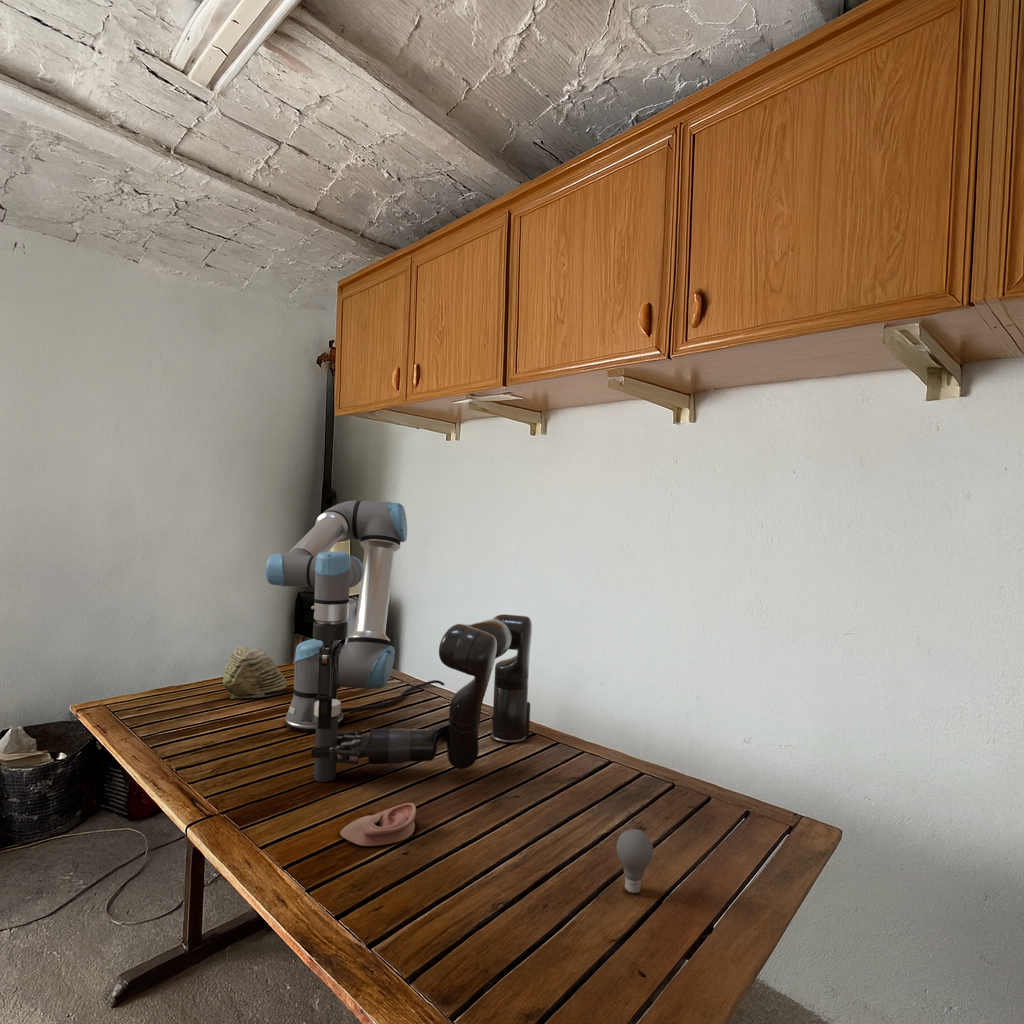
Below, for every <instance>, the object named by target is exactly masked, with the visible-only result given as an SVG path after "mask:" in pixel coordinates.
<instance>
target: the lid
mask: <svg viewBox="0 0 1024 1024" xmlns="http://www.w3.org/2000/svg"><path fill="white" fill-rule="evenodd" d="M341 704H342V702H341V700H340V699H339V700H336V699H332V715H331V717H335V716H337V715H339V714H340V707H341V708H342V706H341ZM318 712H319V701H316V702H315V711H314V714H315V716H317V717H318Z"/></svg>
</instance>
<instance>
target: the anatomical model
mask: <svg viewBox="0 0 1024 1024" xmlns="http://www.w3.org/2000/svg"><path fill="white" fill-rule="evenodd" d="M416 806H417V805H415V803H413V802H406V803H402V804H398V805H395V806H392V807H390V808H387V809H385V810H382V811H380V812H378V813H375V814H373V815H372V814H371V815H364V816H362V817H359V818H357V819H355V820H353V821H351V822H349V823H348V824H347V825H345V826H344V827H343V828H342V829H341V830H340V832H339V835H340V837H342V838H343V839H345V840H346V841H348V842H349V843H352V844H355V845H357V846H359V847H376V846H384V845H385V846H386V845H389V844H395V843H398V842H401V841H403V840H406V839H408V838H410V837H411V836H412V835H413V833H414V832H415V828H416V823H415V821H414V820H415V819H416V815H417V807H416Z"/></svg>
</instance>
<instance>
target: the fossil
mask: <svg viewBox="0 0 1024 1024" xmlns="http://www.w3.org/2000/svg"><path fill="white" fill-rule="evenodd" d="M222 676H223V677H222V685H223V687H224V688H225V690H226V691H228V693H229V698H230V699H250V698H264V697H271V696H275V695H281V694H284V693H285V691H286V689H287V687H288V686H287V680H286V678H285V676H284V674H283V673H282V672H281V669H279V668H278V667H277V665H276V663H275V662H274V660H273V659H272V658H271V657H270V656H269V655H268V654H267V653H266V652H265V650H264V649H263V648H260V647H258V648H251V647H247V646H246V647H245V646H238V647H237V648H236V649H235V650H233V651H232V653H231V656H230V657H229V659H228V660H227V663H226V666H225V668H224V671H223V675H222Z"/></svg>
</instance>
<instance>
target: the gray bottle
mask: <svg viewBox="0 0 1024 1024" xmlns="http://www.w3.org/2000/svg"><path fill="white" fill-rule="evenodd" d="M338 733H339V726H338V715H337V716H335V717H331V729H318V717H317V716H316V732H315V740H314V747H329V749H330V747H332V746H337V735H338ZM313 763H314V764H313V765H314V766H313V780H314V781H316V782H320V783H326V782H331V781H334V779H336V777H337V763H332V762H331V759H329V758H314V762H313Z"/></svg>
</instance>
